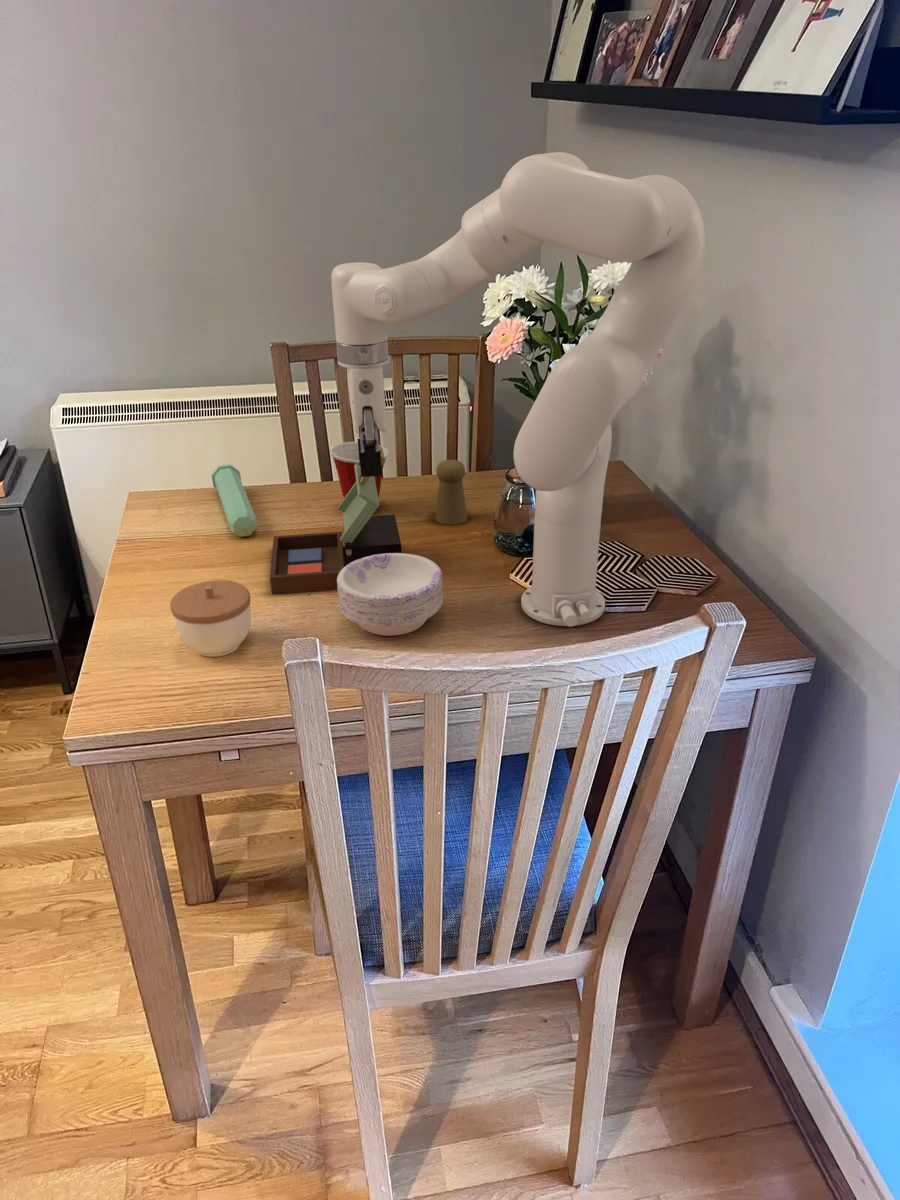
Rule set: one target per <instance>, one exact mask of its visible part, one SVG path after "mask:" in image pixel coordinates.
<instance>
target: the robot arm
mask: <svg viewBox="0 0 900 1200" xmlns="http://www.w3.org/2000/svg"><path fill="white" fill-rule="evenodd" d="M706 238H707V237H706V227H705V222H704V219H703V215H702V213H701V210H700V208H699V206H698V204H697V201H696V200H695V198H694V197H693V195H692V194H691V192H689V190H688V189H687V187H685V186H684V185H683V184H682V183H680V182H679V181H678V180H677V179H675V178H672V177H670V176H667V175H664V174H663V175H662V174H649V175H648V174H647V175H641V176H637V177H634V178H629V179H628V178H623V177H618V176H615V175H611V174H610V175H609V174H606V173H601V172H597V171H594V170H590V169H589V167H588V166H587V164H585V163H584V161H583V160H582V159H580V158H579V157H578V156H576V155H574V154H572V153H569V152H564V151H563V152H562V151H555V152H547V153H538V154H537V153H536V154H532V155H529V156H526V157H523V158H522V159H520V160H518V161H517V162H515V164H513V166H511V168H510V169H509V170H508V171H507V173H506V174H505V176H504V178H503V179H502V182H501V185H500V187H499V188H498V189H496V190H495V191H493V192H492V193H490V194H489V195H488V196H486V197H484V198H483V199H482V200H480V201H479V202H477V203H476V204H474V205H473V206H471V207H469V208H468V209H467V210H466V211H465V212H464V213H463V214H462V217H461V222H460V229H459V230H458V232H456V233H455V235H453V236H452V237H451V238H449V239H448V240H447V241H445V242H444V243H443V244H441V245H440V246H438V247H436V248H435V249H433V250H432V251H431V252H428V254H426V255H424V256H422V257H421V258H419V259H416V260H412V261H408V262H405V263H400V264H397V265H395V266H391V267H387V268H382V267H381V266H380V265H378V264H376V263H374V262H366V261H365V262H364V261H363V262H361V261H360V262H355V261H354V262H347V263H346V262H345V263H340V264H338V265H336V266H335V267H334V268H333V269H332V271H331V275H330V279H331V280H330V281H331V282H330V283H331V294H332V295H331V296H332V306H333V307H332V308H333V318H334V319H333V320H334V332H335V343H336V355H337V365H338V366H340V367H341V368H346V379H347V390H348V398H349V406H350V412H351V419H352V423H353V427H354V432H355V433H356V434H358V438H357V442H358V450H359V462H360V467H361V476H362V477H371V476H381V475H382V476H383V471H382V468H381V451H380V450H379V445H380V443H379V442H380V441H379V432H382V433H386V432H387V431H388V425H387V410H386V393H385V380H384V371H383V366H386V365H387V364H389V343H388V325H390V326H401V325H405V324H409V323H411V322H414V321H416V320H418V319H421V318H423V317H426V316H428V315H431V314H434V313H436V312H438V311H439V310H442V309H444V308H445V307H447V306H449V305H450V304H452V303H453V302H455V301H456V300H458V299H460V298H461V297H463V296H464V295H467V294H468V293H469V292H471V291H473V290H474V289H476V288H477V287H478V286H480V285H482V284H483V283H484V282H485V281H487V280H488V279H490V278H493V277H495V276H496V275H497V274H498V273H499V272H501V271H503V270H504V269H506V268H508V267H509V266H510V265H512V264H513V263H515V262H517V261H518V260H520V259H521V258H523V257H525V256H526V255H527V254H529V253H531V252H532V251H534V250H535V249H537V248H538V247H540V246H541V245H543V244H549V245H552V246H556V247H560V248H563V249H566V250H570V251H573V252H576V253H579V254H584V255H587V256H591V257H594V258H598V259H600V260H601V259H602V260H605V261H609V262H615V263H630V266H629V267H628V270H627V272H626V274H625V275H624V276H623V278H622V279H621V281H620V282H619V283H618V285H617V286H616V289H615V290H614V292H613V294H612V296H611V298H610V300H609V303H608V304H607V307H606V308H605V310H604V312H603V313H602V315H601V317H600V319H599V320H598V322H597V324H596V325H595V327H594V329H593V330H592V332H591V333H590V334H589V335H588V336H587V337H586V338H585V339H583V340H582V341H581V342H579V343H577V344H576V345H574V346H573V347H572V348H570V349H569V350H568V351H566V352H565V353H564V354H563V355H562V356H561V357H560V358H559V360H558V361H557V362H556V363H555V365H554V367H552V369H551V371H550V373H549V374H548V375H547V378H546V379H545V382H544V383H543V385H542V387H541V389H540V391H539V393H538V395H537V396H536V399H535V401H534V403H533V404H532V406H531V408H530V410H529V412H528V414H527V416H526V418H525V420H524V421H523V424H522V425H521V426H520V429H519V431H518V433H517V436H516V438H515V440H514V446H513V451H512V452H513V455H512V456H513V464H514V467H515V470H516V472H517V474H518V476H519V477H520V479H521V480H522V481H523V482H524V483H525V484H526V485H527V486H529V487H530V488H532V489H534V490H535V499H534V519H533V520H534V522H533V546H532V547H533V548H532V549H533V550H532V573H531V575H532V577H531V586H529V587H528V588H527V589H526V590H525V591H524V592H523V593H522V595H521V597H520V601H521V603H520V606H521V609H522V610H523V612H524V613H525V614H526V615H527V616H528V617H530V618H531V619H533V620H534V621H537V622H539V623H542V624H544V625H545V624H546V625H551V626H555V627H568V628H572V627H575V626H583V625H586V624H590V623H593V622H594V621H596V620H598V619H599V618H600V617H601V616H603V614H604V612H605V610H606V609H605V608H606V600H605V597H604V596H603V594H602V593H601V592H600V591H598V590H597V576H598V562H599V552H600V551H599V550H600V539H601V537H600V535H601V526H602V525H601V522H602V514H603V506H604V505H603V502H604V494H605V493H604V492H605V486H606V485H605V483H606V478H607V471H608V465H609V461H610V457H611V456H610V455H611V449H612V444H613V443H612V442H613V441H612V439H613V432H612V431H613V430H612V425H611V422H612V420H613V419H614V418H615V416H616V415H617V413H618V411H620V410H621V408H623V407H624V406H625V405H626V404H627V403H628V402H629V401H631V399H632V398H633V397H635V395H636V394H637V393H638V392H639V390H640V388H641V386H642V384H643V383H644V381H645V378H646V376H647V375H648V373H649V371H650V369H651V367H652V365H653V364H654V362H655V361H656V359H657V357H658V355H659V353H660V352H661V350H662V349H663V347H664V345H665V344H666V342H667V340H668V338H669V336H670V335H671V332H672V330H673V329H674V327H675V325H676V323H677V321H678V319H680V316H681V315H682V314H683V311H684V309H685V308H686V306H687V305H688V302H689V300H690V299H691V297H692V294H693V293H694V291H695V289H696V287H697V284H698V281H699V279H700V275H701V273H702V270H703V269H702V268H703V265H704V261H705V255H706V245H707V243H706V242H707V241H706V240H707V239H706Z"/></svg>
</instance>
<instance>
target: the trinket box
mask: <svg viewBox="0 0 900 1200" xmlns="http://www.w3.org/2000/svg"><path fill="white" fill-rule="evenodd" d="M169 603H170V605H169V606H170V610H171V614H172V617H173V621H174V625H175V627H176V630H177V633H178V635H179V637H180V639H181V640H182V641H183V643H184V644H185V645H187V646H188V647H189V648H190V649H192V650H194V651H195V652H197V653H198V654H199V655H201V656H203V657H208V658H218V657H223V656H226V655H230V654H232V653H234V652H235V651H236V650H237V649H239V647H240V645H241V643H243V642H244V640H245V639H246V637H247V636H248V634H249V631H250V628H251V623H252V607H251V593H250V590H249V589H248V588H247V587H246V586H245V585H243V584H241V583H239V582H236V581H231V580H224V579H223V580H220V579H217V580H216V579H215V580H207V581H202V582H198V583H195V584H191V585H189V586H186V587H184V588H183V589H180V590H179V591H178V592H176V594H174V595H173V596H172V598H171V600H170V602H169Z"/></svg>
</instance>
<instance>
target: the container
mask: <svg viewBox="0 0 900 1200" xmlns="http://www.w3.org/2000/svg"><path fill="white" fill-rule="evenodd" d="M241 477H242V476H241V471H240V470H239V469H238V468H236V467H234V466H233V465H232V464H229V463H228V464H222V465H218V466H217V467H216V468H215V469H214V471H213V472H212V473H211V479H212V486H213V487H214V488H215V489H216V491H217V495H218V497H219V499H220V503H221V505H222V508H223V512H224V515H225V518H226V521H227V524H228V526H229V528H230V531H231V532H232V533H233V534H234V535H236V536H238V537H239V538H241V537H248V536H251V535H252V533H253V532H254V531H255V530H256V529H257V528H258V523H257V517H256V514H255V512H254V510H253V507H252V504H251V502H250V500H249V497H248V494H247V492H246V490H245V488H244V487H245V486H244V485H243V483H242V478H241Z"/></svg>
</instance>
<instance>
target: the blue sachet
mask: <svg viewBox="0 0 900 1200" xmlns="http://www.w3.org/2000/svg"><path fill="white" fill-rule="evenodd" d="M312 563H322V550H321V548H311V549H298V550H289V555H288V565H298V564H312Z"/></svg>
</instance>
